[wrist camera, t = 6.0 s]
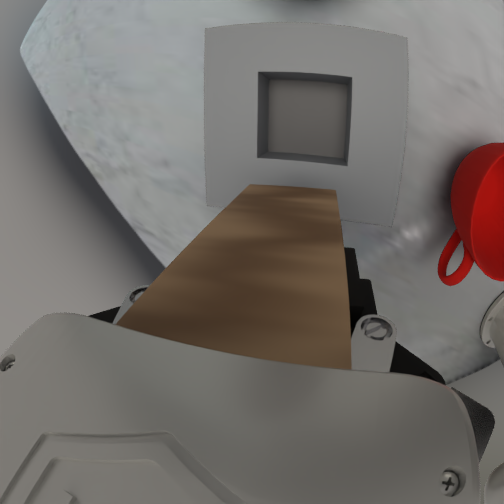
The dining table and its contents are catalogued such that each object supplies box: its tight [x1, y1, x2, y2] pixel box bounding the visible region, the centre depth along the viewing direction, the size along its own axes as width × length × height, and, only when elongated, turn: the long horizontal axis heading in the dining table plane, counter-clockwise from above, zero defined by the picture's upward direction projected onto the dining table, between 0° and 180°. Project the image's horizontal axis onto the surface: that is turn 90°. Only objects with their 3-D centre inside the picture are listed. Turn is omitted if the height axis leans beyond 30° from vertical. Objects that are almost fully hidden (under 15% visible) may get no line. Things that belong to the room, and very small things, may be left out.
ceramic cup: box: [438, 143, 504, 286], centre depth 20 cm, size 13×17×10 cm
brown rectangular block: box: [115, 184, 352, 369], centre depth 11 cm, size 5×5×14 cm
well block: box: [204, 22, 409, 227], centre depth 23 cm, size 18×18×6 cm
